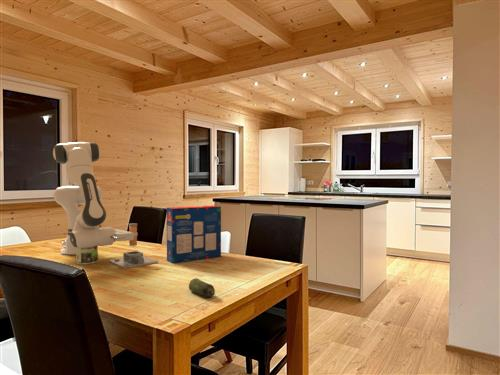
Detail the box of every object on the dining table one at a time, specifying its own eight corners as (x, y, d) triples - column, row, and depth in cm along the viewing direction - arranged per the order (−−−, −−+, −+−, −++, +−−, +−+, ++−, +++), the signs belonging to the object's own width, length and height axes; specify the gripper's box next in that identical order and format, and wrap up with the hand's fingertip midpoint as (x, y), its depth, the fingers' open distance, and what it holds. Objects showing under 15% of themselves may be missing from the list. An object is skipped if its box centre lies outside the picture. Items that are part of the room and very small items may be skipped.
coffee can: (102, 260, 182) (102, 233, 182) (89, 265, 172) (89, 236, 172) (85, 259, 184) (84, 233, 184) (71, 264, 174) (71, 236, 174)
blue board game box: (214, 254, 197) (214, 205, 197) (221, 256, 190) (220, 206, 190) (166, 260, 181) (166, 207, 181) (172, 263, 175) (172, 208, 174)
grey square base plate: (108, 262, 178) (108, 252, 177) (141, 257, 190) (141, 248, 190) (123, 268, 164) (123, 258, 164) (157, 262, 177) (157, 253, 177)
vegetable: (186, 291, 131) (186, 278, 131) (198, 288, 134) (198, 276, 134) (206, 301, 120) (206, 287, 120) (218, 298, 124) (218, 284, 124)
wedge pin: (127, 245, 177) (127, 223, 177) (135, 244, 180) (135, 223, 180) (130, 246, 174) (130, 224, 174) (138, 245, 177) (138, 223, 177)
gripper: (115, 231, 160) (143, 229, 170) (99, 227, 175) (126, 225, 185) (116, 245, 160) (144, 241, 170) (99, 240, 175) (126, 237, 185)
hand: (134, 233), depth 177 cm, fingers closed on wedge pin, 4 cm apart
